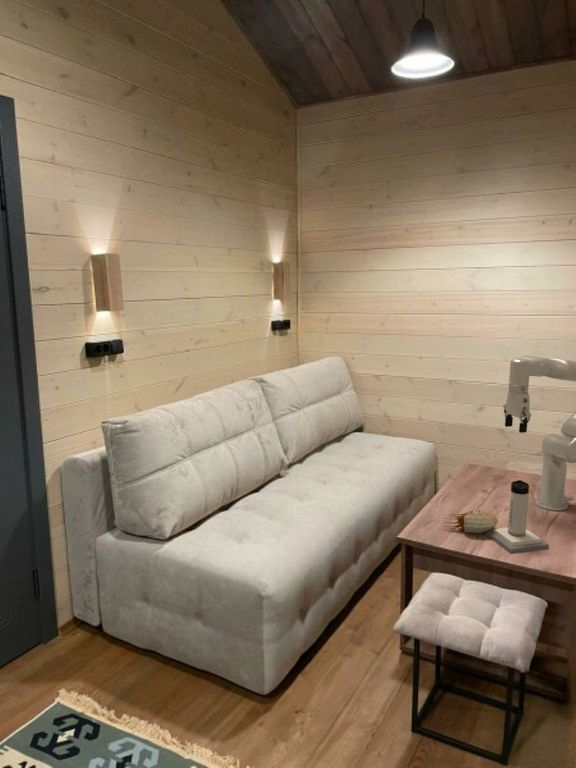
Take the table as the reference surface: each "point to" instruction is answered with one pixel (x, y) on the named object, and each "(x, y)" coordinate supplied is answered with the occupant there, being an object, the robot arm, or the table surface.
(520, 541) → the pedestal
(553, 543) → the table surface
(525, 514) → the travel mug
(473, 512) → the nautilus shell
